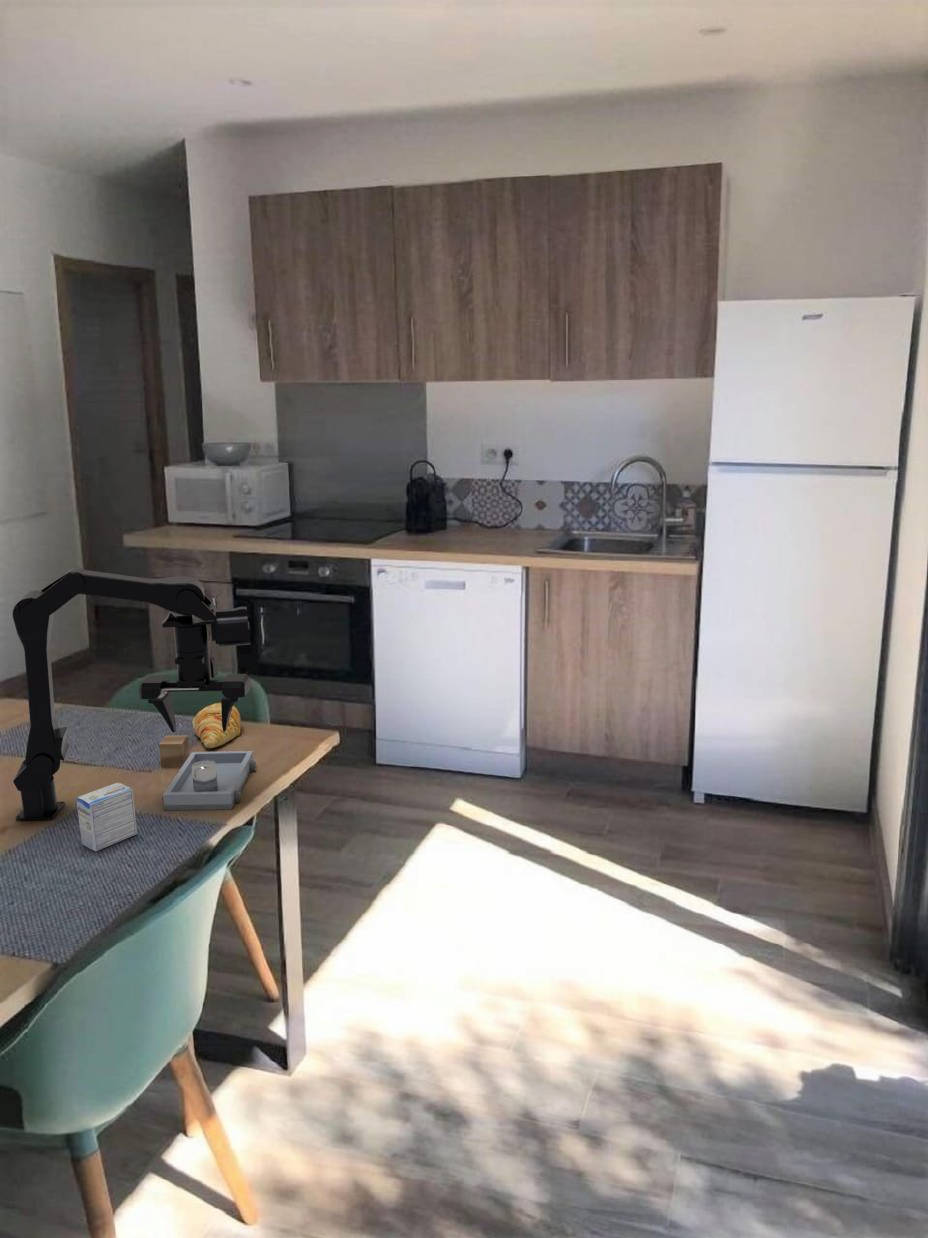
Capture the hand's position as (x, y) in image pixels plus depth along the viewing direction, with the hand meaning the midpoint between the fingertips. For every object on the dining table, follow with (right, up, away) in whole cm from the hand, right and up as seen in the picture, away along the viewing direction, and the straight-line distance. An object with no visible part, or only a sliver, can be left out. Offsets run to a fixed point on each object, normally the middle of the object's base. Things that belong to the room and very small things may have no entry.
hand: (199, 731), depth 180 cm
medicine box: (-11, -17, -14) cm, 25 cm away
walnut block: (-10, -8, +18) cm, 22 cm away
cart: (0, -11, +6) cm, 13 cm away
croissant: (-5, -5, +33) cm, 34 cm away
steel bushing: (+1, -11, +2) cm, 11 cm away
